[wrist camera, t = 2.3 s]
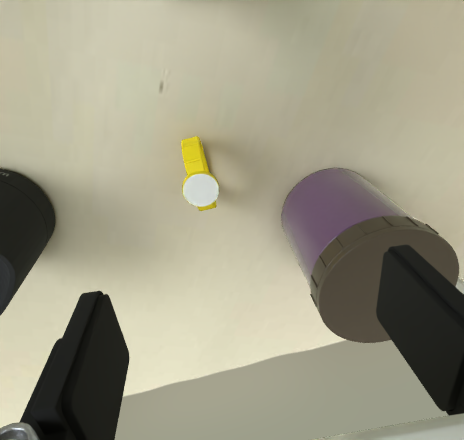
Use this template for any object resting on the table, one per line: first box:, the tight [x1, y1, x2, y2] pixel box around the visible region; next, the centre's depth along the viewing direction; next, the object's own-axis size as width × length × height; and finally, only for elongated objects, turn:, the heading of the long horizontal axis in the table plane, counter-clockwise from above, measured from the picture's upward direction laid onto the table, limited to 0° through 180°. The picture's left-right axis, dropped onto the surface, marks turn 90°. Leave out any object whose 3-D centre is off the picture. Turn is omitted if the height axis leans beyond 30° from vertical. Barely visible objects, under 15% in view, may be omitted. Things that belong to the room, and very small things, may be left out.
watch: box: [181, 136, 219, 211], centre depth 28 cm, size 6×3×6 cm, turn 13°
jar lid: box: [310, 216, 459, 343], centre depth 24 cm, size 10×10×2 cm
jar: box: [281, 168, 414, 289], centre depth 29 cm, size 10×10×12 cm
